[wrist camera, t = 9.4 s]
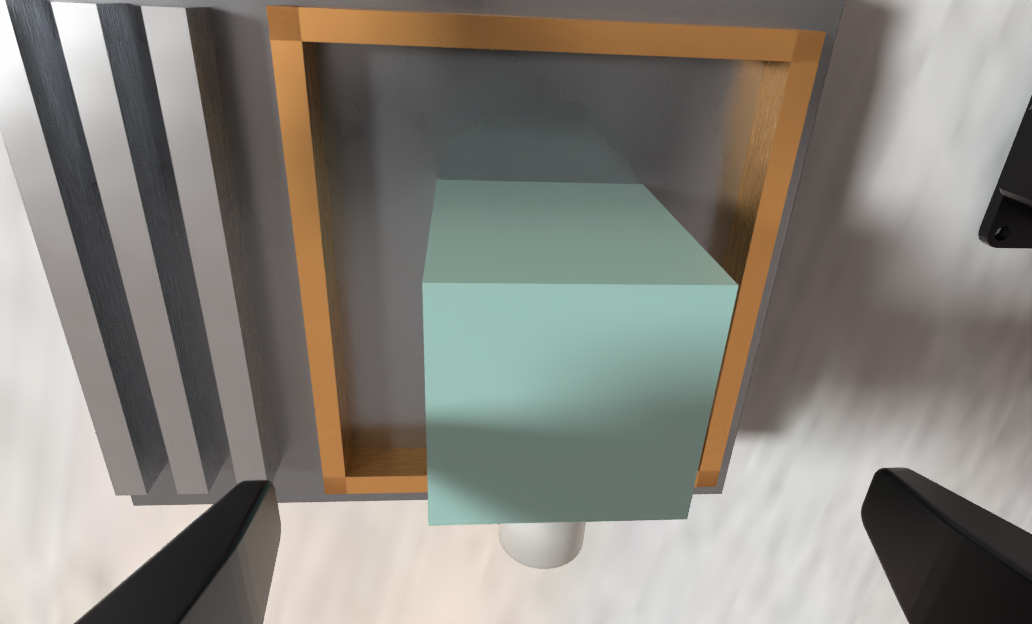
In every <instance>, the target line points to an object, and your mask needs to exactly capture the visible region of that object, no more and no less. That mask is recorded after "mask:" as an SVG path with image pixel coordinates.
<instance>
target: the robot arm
mask: <svg viewBox="0 0 1032 624" xmlns="http://www.w3.org/2000/svg"><path fill="white" fill-rule="evenodd" d="M999 228H1001V230H1000V231H999V233H998V234H996V235H995V233H996V231H997V230H998V229H999ZM978 235H979V239H980V240H981V241H982V242H983V243H985V244H987V245H989V246H991V247H995V248H1032V96H1031V99H1030V101H1029V104H1028V107H1027V109H1026V112H1025V114H1024V117H1023V119H1022V122H1021V124H1020V127H1019V129H1018V132H1017V135H1016V137H1015V140H1014V142H1013V145H1012V147H1011V150H1010V152H1009V155H1008V157H1007V160H1006V163H1005V165H1004V168H1003V170H1002V173H1001V175H1000V178H999V180H998V183H997V186H996V188H995V191H994V193H993V196H992V198H991V201H990V203H989V206H988V208H987V211H986V214H985V216H984V219H983V221H982V224H981V226H980V229H979V234H978ZM861 517H862V522H863V525H864V527H865V530H866V532H867V534H868V536H869V538H870V541H871V543H872V545H873V547H874V549H875V552H876V554H877V556H878V558H879V560H880V562H881V565H882V567H883V569H884V571H885V573H886V576H887V578H888V580H889V582H890V584H891V587H892V589H893V591H894V593H895V595H896V598H897V600H898V602H899V604H900V606H901V608H902V610H903V612H904V614H905V616H906V618H907V620H908V622H909V624H1032V534H1030V533H1028V532H1026V531H1025V530H1023V529H1021V528H1019V527H1017V526H1015V525H1013V524H1012V523H1010V522H1008V521H1006V520H1004V519H1002V518H1000V517H998V516H997V515H995V514H993V513H991V512H989V511H987V510H985V509H983V508H982V507H980V506H978V505H976V504H974V503H972V502H970V501H969V500H967V499H965V498H963V497H961V496H959V495H957V494H955V493H954V492H952V491H950V490H948V489H946V488H944V487H942V486H940V485H939V484H937V483H935V482H933V481H931V480H929V479H927V478H926V477H924V476H922V475H920V474H918V473H916V472H914V471H912V470H910V469H908V468H882V469H879V470H878V471H877V472H876V473H875V474H874V476H873V479H872V482H871V484H870V487H869V489H868V492H867V495H866V497H865V500H864V502H863V505H862V509H861ZM280 535H281V522H280V516H279V510H278V504H277V498H276V492H275V487H274V485H273V483H272V482H271V481H269V480H246V481H242V482H240V483H238V484H237V485H236V486H235V487H233V488H232V489H231V490H230V491H229V492H227V493H226V494H225V495H224V496H223V497H222V498H220V499H219V500H218V501H217V502H216V503H215V504H213V505H212V506H211V507H210V508H209V509H208V510H206V511H205V512H204V513H203V514H202V515H201V516H199V517H198V518H197V519H196V520H195V521H194V522H192V523H191V524H190V525H189V526H188V527H187V528H185V529H184V530H183V531H182V532H181V533H179V534H178V535H177V536H176V537H175V538H174V539H172V540H171V541H170V542H169V543H168V544H167V545H165V546H164V547H163V548H162V549H161V550H160V551H158V552H157V553H156V554H155V555H154V556H153V557H151V558H150V559H149V560H148V561H147V562H146V563H144V564H143V565H142V566H141V567H140V568H138V569H137V570H136V571H135V572H134V573H133V574H131V575H130V576H129V577H128V578H127V579H126V580H124V581H123V582H122V583H121V584H120V585H119V586H117V587H116V588H115V589H114V590H113V591H112V592H110V593H109V594H108V595H107V596H106V597H105V598H103V599H102V600H101V601H100V602H99V603H97V604H96V605H95V606H94V607H93V608H92V609H90V610H89V611H88V612H87V613H86V614H85V615H83V616H82V617H81V618H80V619H79V620H78V621H76V622H75V623H74V624H263V620H264V615H265V611H266V606H267V601H268V596H269V591H270V586H271V581H272V576H273V572H274V567H275V562H276V557H277V552H278V547H279V542H280Z"/></svg>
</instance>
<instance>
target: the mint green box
mask: <svg viewBox="0 0 1032 624" xmlns="http://www.w3.org/2000/svg"><path fill="white" fill-rule="evenodd" d="M738 286H739V285H738V284H737V283H736V282H735V281H734V280H733V279H732V278H731V277H730V276H729V275H728V274H727V273H726V272H725V271H724V269H723V268H722V267H721V266H720V265H719V264H718V263H717V262H716V261H715V260H714V259H713V258H712V257H711V256H710V255H709V254H708V253H707V252H706V250H705V249H704V248H703V247H702V246H701V245H700V244H699V243H698V242H697V241H696V240H695V239H694V238H693V237H692V236H691V235H690V234H689V232H688V231H687V230H686V229H685V228H684V227H683V226H682V225H681V224H680V223H679V222H678V221H677V220H676V219H675V218H674V217H673V216H672V215H671V213H670V212H669V211H668V210H667V209H666V208H665V207H664V206H663V205H662V204H661V203H660V202H659V201H658V200H657V199H656V198H655V197H654V196H653V194H652V193H651V192H650V191H649V190H648V189H647V188H646V187H645V186H644V185H643V184H609V183H564V182H520V181H475V180H437V182H436V189H435V196H434V203H433V210H432V217H431V224H430V232H429V239H428V246H427V253H426V260H425V267H424V274H423V281H422V292H423V330H424V368H425V406H426V444H427V481H428V519H429V525H470V524H499V539H500V543H501V545H502V547H503V549H504V550H505V552H506V553H507V554H508V555H509V556H510V557H511V558H513V559H514V560H516V561H517V562H519V563H521V564H523V565H526V566H529V567H533V568H539V569H549V568H556V567H559V566H562V565H565V564H567V563H568V562H570V561H572V560H573V559H574V558H575V557H576V556H577V555H578V554H579V552H580V550H581V548H582V545H583V539H584V531H585V523H586V522H591V521H632V520H672V519H687V517H688V512H689V508H690V503H691V499H692V494H693V490H694V485H695V481H696V476H697V472H698V467H699V463H700V458H701V454H702V449H703V444H704V440H705V435H706V431H707V426H708V422H709V417H710V413H711V408H712V404H713V399H714V395H715V390H716V386H717V381H718V376H719V372H720V367H721V363H722V358H723V354H724V349H725V345H726V340H727V336H728V331H729V327H730V322H731V318H732V313H733V308H734V304H735V299H736V295H737V290H738Z"/></svg>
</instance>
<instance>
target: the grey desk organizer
mask: <svg viewBox="0 0 1032 624" xmlns="http://www.w3.org/2000/svg"><path fill="white" fill-rule="evenodd" d="M843 4H844V0H0V131H1V134H2V137H3V141H4V144H5V147H6V150H7V153H8V156H9V159H10V163H11V166H12V169H13V172H14V175H15V178H16V182H17V185H18V188H19V191H20V194H21V197H22V201H23V204H24V207H25V210H26V213H27V216H28V220H29V223H30V226H31V229H32V232H33V235H34V239H35V242H36V245H37V248H38V251H39V254H40V257H41V261H42V264H43V267H44V270H45V273H46V276H47V280H48V283H49V286H50V289H51V292H52V295H53V299H54V302H55V305H56V308H57V311H58V314H59V318H60V321H61V324H62V327H63V330H64V333H65V336H66V340H67V343H68V346H69V349H70V352H71V355H72V359H73V362H74V365H75V368H76V371H77V374H78V378H79V381H80V384H81V387H82V390H83V393H84V397H85V400H86V403H87V406H88V409H89V412H90V416H91V419H92V422H93V425H94V428H95V431H96V434H97V438H98V441H99V444H100V447H101V450H102V453H103V457H104V460H105V463H106V466H107V469H108V472H109V476H110V479H111V482H112V485H113V488H114V491H115V495H131V498H132V502H133V505H134V506H139V505H189V504H215V503H216V502H217V501H218V500H219V499H220V498H222V497H223V496H224V495H225V494H226V493H227V492H229V491H230V490H231V489H232V488H233V487H235V486H236V485H237V484H238V483H240V482H242V481H246V480H269V481H271V482H272V483H273V485H274V487H275V492H276V498H277V503H287V502H336V501H386V500H428V481H427V444H426V406H425V368H424V330H423V292H422V281H423V274H424V267H425V260H426V253H427V246H428V239H429V232H430V224H431V217H432V210H433V203H434V196H435V189H436V182H437V180H475V181H520V182H564V183H609V184H643V185H644V186H645V187H646V188H647V189H648V190H649V191H650V192H651V193H652V194H653V196H654V197H655V198H656V199H657V200H658V201H659V202H660V203H661V204H662V205H663V206H664V207H665V208H666V209H667V210H668V211H669V212H670V213H671V215H672V216H673V217H674V218H675V219H676V220H677V221H678V222H679V223H680V224H681V225H682V226H683V227H684V228H685V229H686V230H687V231H688V232H689V234H690V235H691V236H692V237H693V238H694V239H695V240H696V241H697V242H698V243H699V244H700V245H701V246H702V247H703V248H704V249H705V250H706V252H707V253H708V254H709V255H710V256H711V257H712V258H713V259H714V260H715V261H716V262H717V263H718V264H719V265H720V266H721V267H722V268H723V269H724V271H725V272H726V273H727V274H728V275H729V276H730V277H731V278H732V279H733V280H734V281H735V282H736V283H737V284H738V285H739V286H738V290H737V295H736V299H735V304H734V308H733V313H732V318H731V322H730V327H729V331H728V336H727V340H726V345H725V349H724V354H723V358H722V363H721V367H720V372H719V376H718V381H717V386H716V390H715V395H714V399H713V404H712V408H711V413H710V417H709V422H708V426H707V431H706V435H705V440H704V444H703V449H702V454H701V458H700V463H699V467H698V472H697V476H696V481H695V485H694V490H693V494H722V490H723V486H724V482H725V478H726V474H727V470H728V466H729V462H730V458H731V454H732V450H733V446H734V442H735V438H736V434H737V430H738V426H739V422H740V418H741V414H742V410H743V406H744V402H745V398H746V394H747V390H748V386H749V382H750V378H751V374H752V370H753V366H754V362H755V358H756V354H757V350H758V346H759V342H760V338H761V334H762V330H763V326H764V322H765V318H766V314H767V310H768V306H769V301H770V297H771V293H772V289H773V285H774V281H775V277H776V273H777V269H778V265H779V261H780V257H781V253H782V249H783V245H784V241H785V237H786V233H787V229H788V225H789V221H790V217H791V213H792V209H793V205H794V201H795V197H796V193H797V189H798V185H799V181H800V177H801V173H802V169H803V165H804V161H805V157H806V153H807V149H808V145H809V141H810V137H811V133H812V129H813V125H814V121H815V117H816V113H817V109H818V105H819V101H820V97H821V93H822V89H823V85H824V81H825V77H826V73H827V69H828V65H829V61H830V57H831V53H832V48H833V44H834V40H835V36H836V32H837V28H838V24H839V20H840V16H841V12H842V8H843Z"/></svg>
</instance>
